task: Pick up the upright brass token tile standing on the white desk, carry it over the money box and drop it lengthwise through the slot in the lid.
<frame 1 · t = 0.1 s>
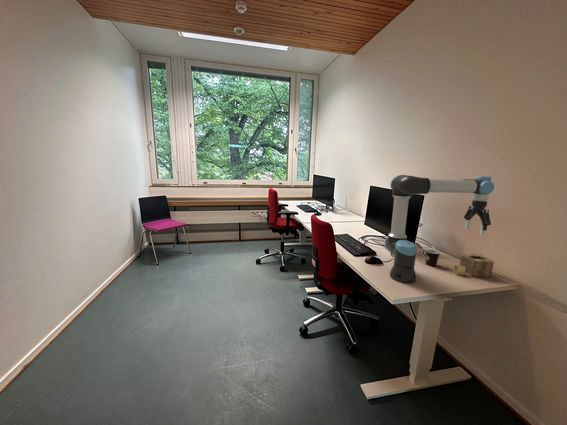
hand: (474, 232, 154), 28 cm above the table, fingers open, 13 cm apart
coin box: (474, 272, 157), on the table
coffee mug: (429, 264, 171), on the table
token: (458, 274, 155), on the table
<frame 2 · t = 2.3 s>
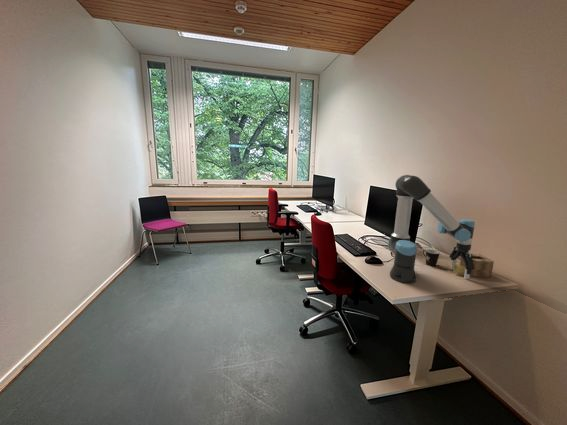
hand: (459, 273, 155), 0 cm above the table, fingers open, 13 cm apart
nothing on the table moved.
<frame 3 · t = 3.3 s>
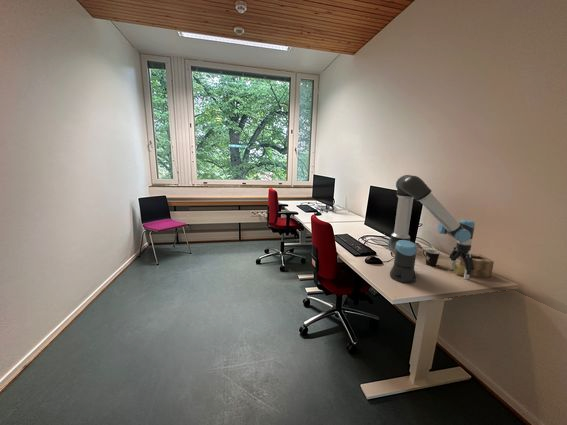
hand: (459, 273, 155), 0 cm above the table, fingers open, 13 cm apart
nothing on the table moved.
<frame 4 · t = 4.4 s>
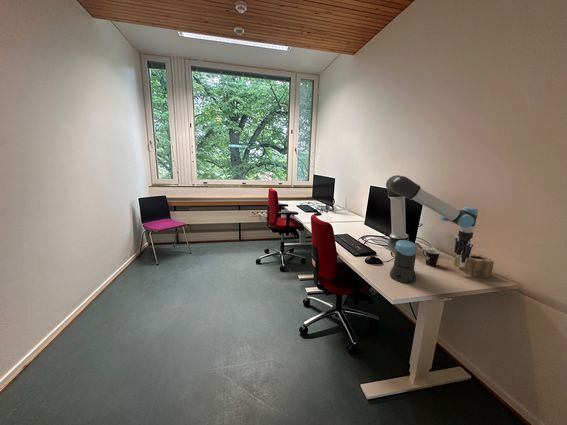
hand: (459, 265, 154), 6 cm above the table, fingers closed on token, 3 cm apart
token: (459, 266, 154), point 6 cm above the table, touching gripper
everything else where it was.
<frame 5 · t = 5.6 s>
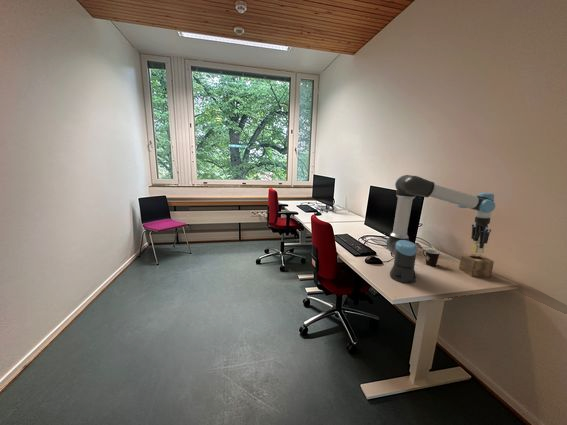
hand: (477, 251, 154), 15 cm above the table, fingers closed on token, 3 cm apart
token: (477, 252, 154), point 15 cm above the table, touching gripper
everything else where it was.
when the fingers open (12 cm above the table, at t = 7.0 s): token drops 11 cm, resting on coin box.
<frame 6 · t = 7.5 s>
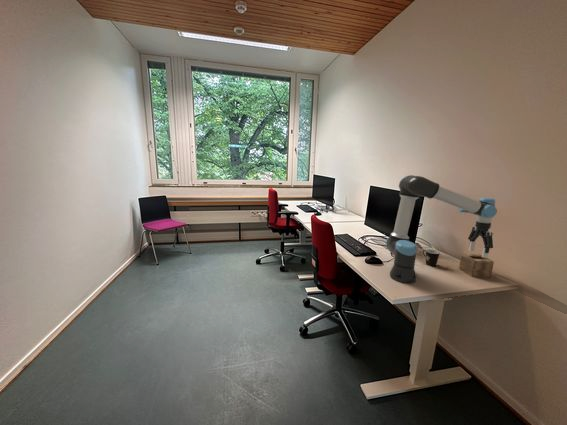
hand: (477, 253, 155), 13 cm above the table, fingers open, 11 cm apart
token: (474, 271, 157), point 1 cm above the table, touching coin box
everything else where it was.
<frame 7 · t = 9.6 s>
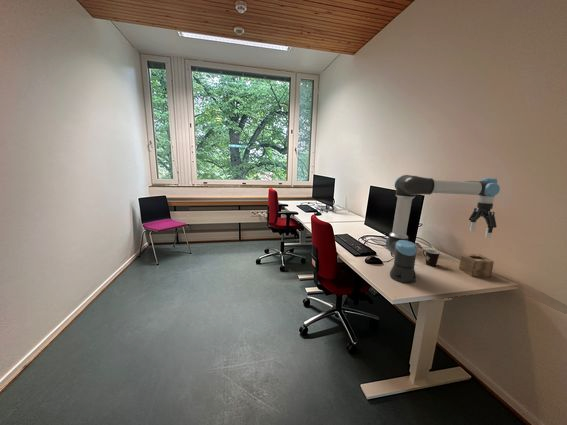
hand: (479, 234, 153), 27 cm above the table, fingers open, 13 cm apart
nothing on the table moved.
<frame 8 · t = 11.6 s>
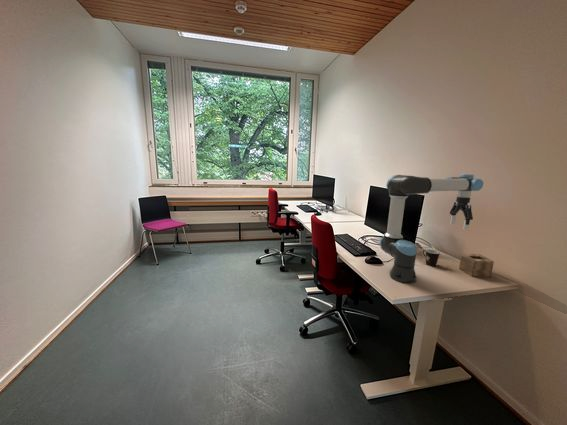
hand: (458, 226, 165), 29 cm above the table, fingers open, 13 cm apart
nothing on the table moved.
at the end: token inside the target area on the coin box (0.4 cm from its centre), point 0.6 cm above the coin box's base; the gripper is holding nothing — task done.
